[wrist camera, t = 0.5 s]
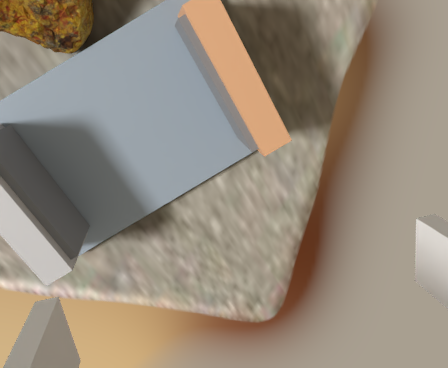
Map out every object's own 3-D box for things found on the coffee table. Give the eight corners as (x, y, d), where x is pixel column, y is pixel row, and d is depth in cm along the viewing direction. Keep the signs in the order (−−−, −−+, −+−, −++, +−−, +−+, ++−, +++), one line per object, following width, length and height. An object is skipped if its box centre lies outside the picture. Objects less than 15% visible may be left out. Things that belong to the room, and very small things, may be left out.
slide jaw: (171, 20, 32) (174, 10, 26) (202, 1, 32) (213, -14, 26) (240, 142, 36) (257, 160, 30) (267, 125, 36) (291, 140, 30)
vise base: (-29, 120, 33) (-86, 138, 26) (202, -20, 33) (215, -45, 25) (78, 251, 39) (58, 299, 31) (280, 131, 38) (310, 149, 30)
